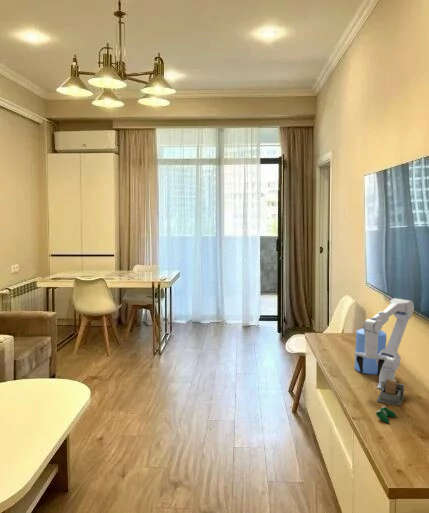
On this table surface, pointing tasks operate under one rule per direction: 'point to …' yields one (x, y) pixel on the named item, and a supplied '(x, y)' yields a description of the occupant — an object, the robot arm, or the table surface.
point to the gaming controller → (385, 414)
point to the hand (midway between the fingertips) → (369, 373)
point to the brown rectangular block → (390, 386)
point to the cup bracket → (391, 395)
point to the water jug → (368, 364)
